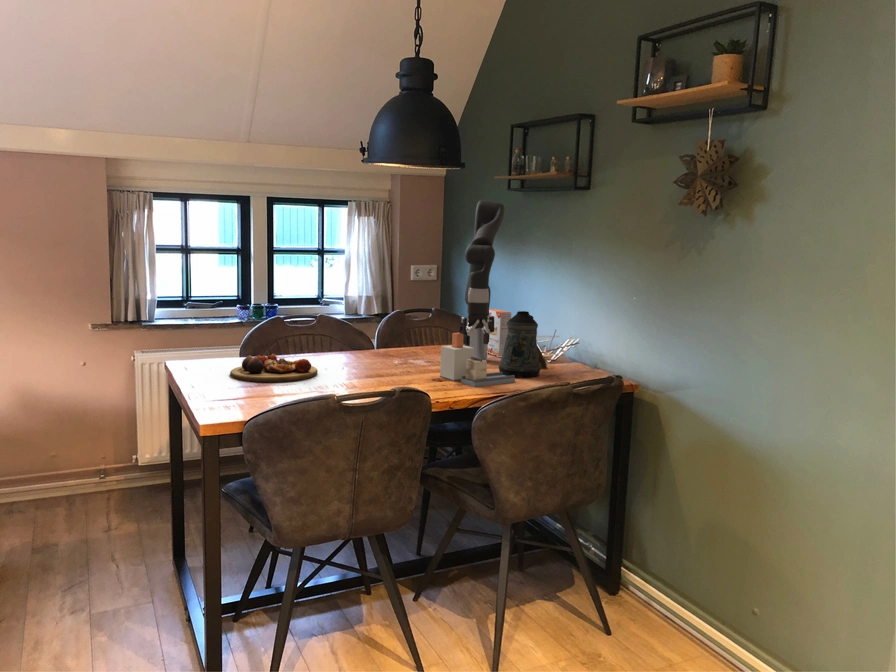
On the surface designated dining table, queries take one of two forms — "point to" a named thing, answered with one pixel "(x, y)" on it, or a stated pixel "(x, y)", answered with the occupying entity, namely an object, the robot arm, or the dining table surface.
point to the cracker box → (498, 331)
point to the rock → (541, 359)
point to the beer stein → (521, 347)
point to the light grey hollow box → (454, 362)
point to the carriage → (476, 368)
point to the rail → (489, 379)
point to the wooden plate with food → (273, 369)
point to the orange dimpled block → (457, 340)
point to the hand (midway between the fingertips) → (476, 344)
